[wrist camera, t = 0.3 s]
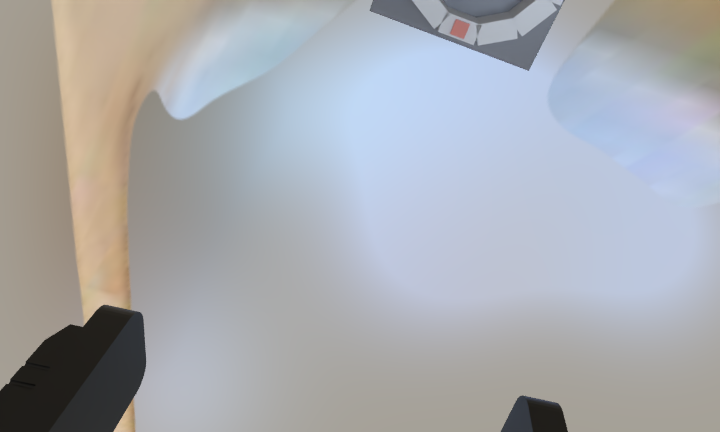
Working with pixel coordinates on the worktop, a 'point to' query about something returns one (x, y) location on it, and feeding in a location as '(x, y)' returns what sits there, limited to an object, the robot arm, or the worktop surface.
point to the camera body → (480, 23)
